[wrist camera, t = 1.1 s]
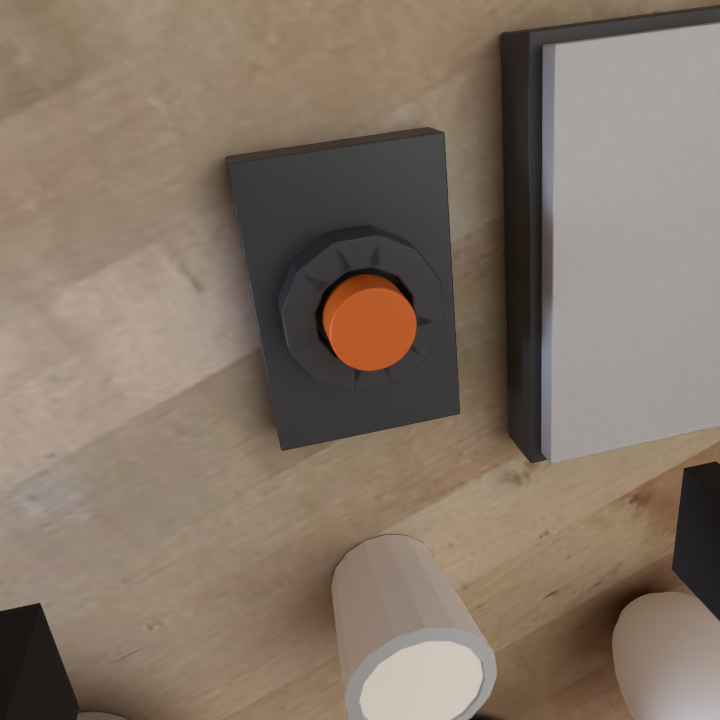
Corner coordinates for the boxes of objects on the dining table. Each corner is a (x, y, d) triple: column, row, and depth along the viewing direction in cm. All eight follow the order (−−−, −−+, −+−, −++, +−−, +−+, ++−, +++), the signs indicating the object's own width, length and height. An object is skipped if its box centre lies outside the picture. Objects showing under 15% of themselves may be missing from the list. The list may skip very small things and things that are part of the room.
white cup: (415, 637, 38) (458, 753, 31) (299, 618, 35) (320, 739, 29) (468, 538, 36) (525, 641, 29) (349, 511, 33) (382, 617, 27)
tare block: (224, 156, 26) (227, 170, 22) (429, 126, 27) (459, 136, 24) (277, 429, 31) (285, 472, 28) (447, 395, 32) (473, 432, 29)
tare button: (316, 281, 25) (324, 296, 23) (400, 266, 25) (413, 280, 24) (327, 360, 26) (335, 379, 25) (407, 344, 27) (420, 362, 25)
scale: (500, 32, 26) (541, 30, 23) (867, -14, 28) (950, -23, 25) (508, 436, 33) (540, 476, 30) (796, 374, 36) (853, 405, 33)
